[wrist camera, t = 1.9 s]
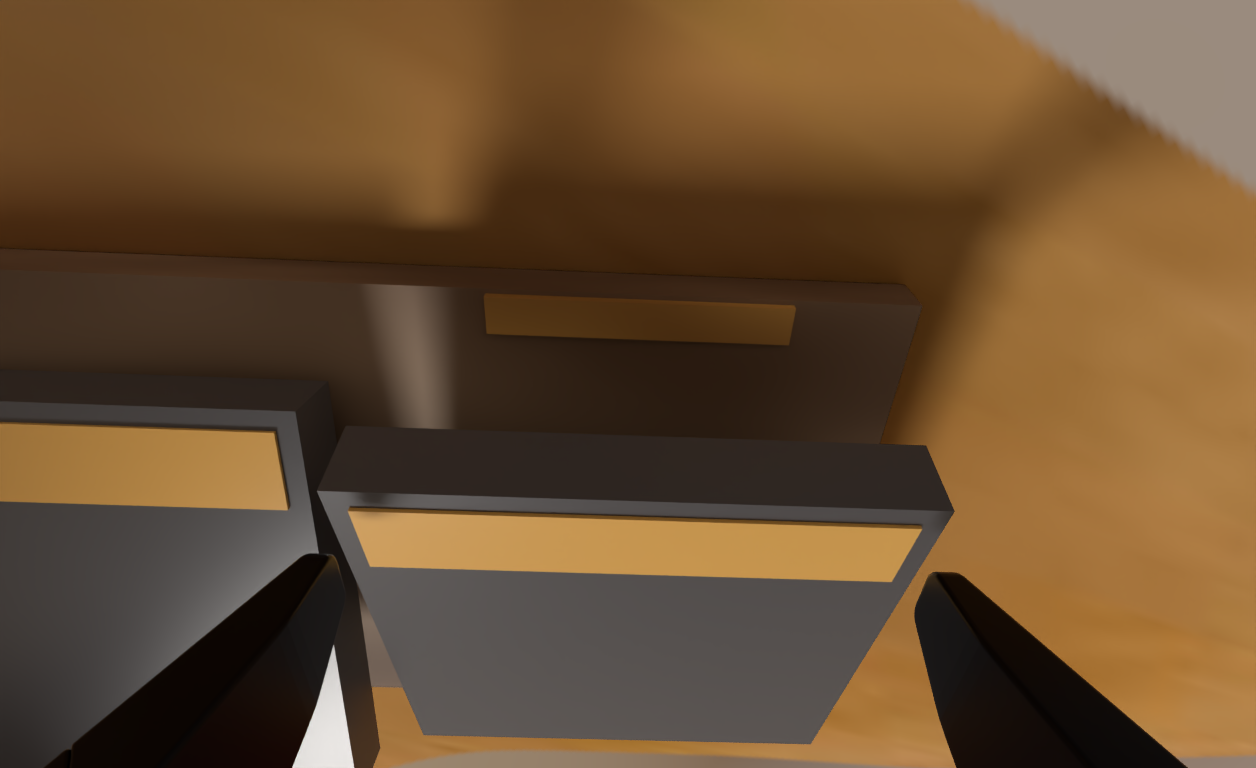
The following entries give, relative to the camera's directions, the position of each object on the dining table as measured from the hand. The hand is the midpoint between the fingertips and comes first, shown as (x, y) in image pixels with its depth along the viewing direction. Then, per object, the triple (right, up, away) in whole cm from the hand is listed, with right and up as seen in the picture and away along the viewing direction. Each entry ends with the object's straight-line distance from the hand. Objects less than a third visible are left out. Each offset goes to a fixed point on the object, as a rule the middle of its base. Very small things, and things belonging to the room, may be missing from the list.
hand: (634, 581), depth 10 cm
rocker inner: (-11, -2, +4) cm, 12 cm away
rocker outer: (0, -2, +4) cm, 5 cm away
